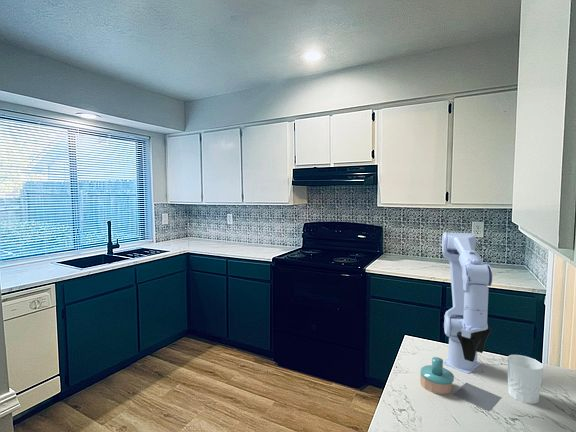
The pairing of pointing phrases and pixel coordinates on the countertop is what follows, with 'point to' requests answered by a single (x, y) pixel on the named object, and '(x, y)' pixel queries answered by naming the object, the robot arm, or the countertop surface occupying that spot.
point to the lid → (437, 372)
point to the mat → (477, 396)
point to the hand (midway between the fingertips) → (473, 355)
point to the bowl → (435, 386)
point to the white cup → (524, 378)
